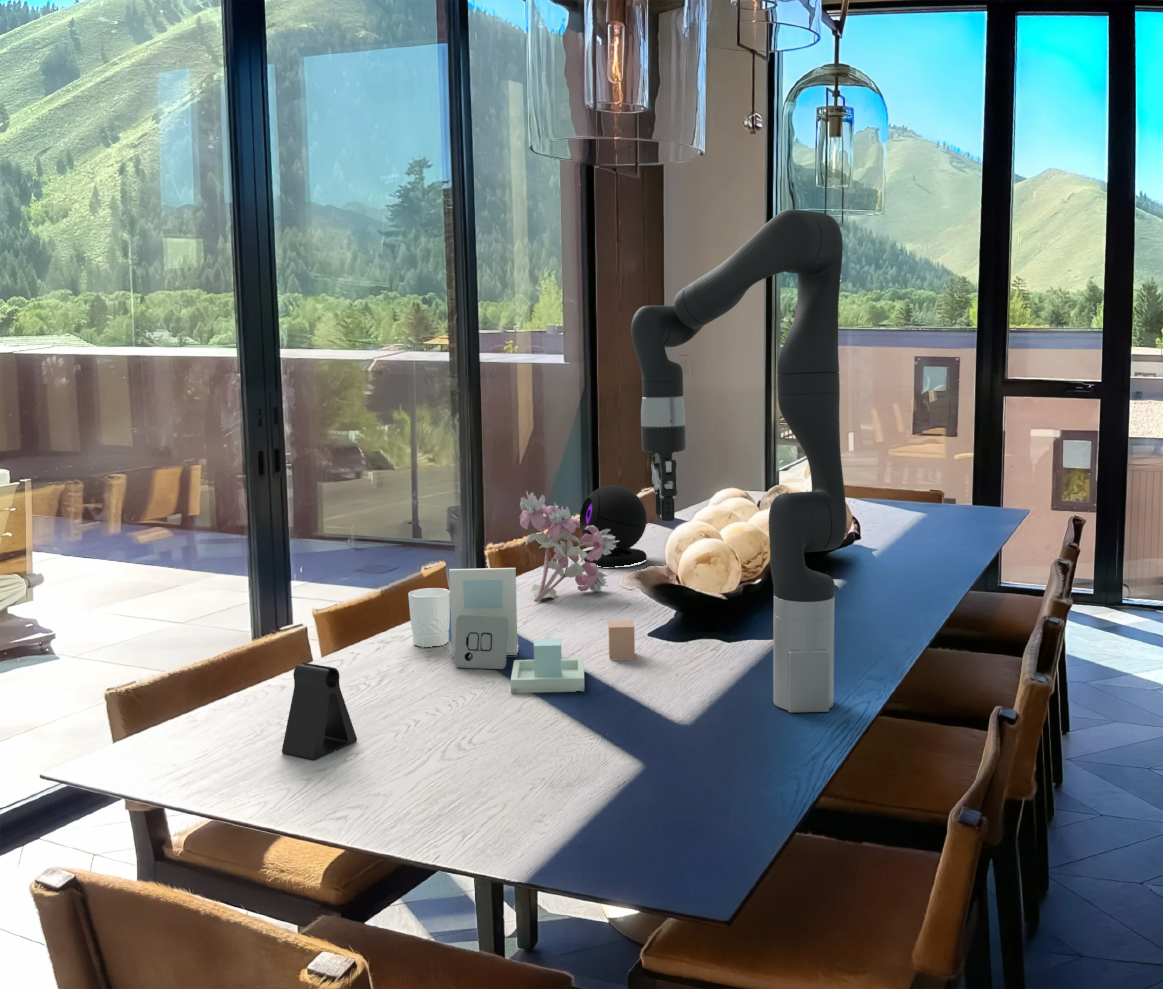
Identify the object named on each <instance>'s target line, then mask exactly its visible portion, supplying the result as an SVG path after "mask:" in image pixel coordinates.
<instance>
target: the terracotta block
mask: <svg viewBox="0 0 1163 989" xmlns="http://www.w3.org/2000/svg"><path fill="white" fill-rule="evenodd" d="M607 624H608V656H609V657H608V659H609V660H610V659H631V660H635V659H636V656H635V654H636V653H635V650H636V649H635V646H636V645H635V641H636V640H635V624H634V621H633V620H623V621H622V620H620V621H619V620H618V621H617V620H615V621H614V620H613V621H611V620H609V621H608V623H607Z"/></svg>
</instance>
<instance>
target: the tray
mask: <svg viewBox="0 0 1163 989" xmlns="http://www.w3.org/2000/svg"><path fill="white" fill-rule="evenodd" d="M561 662H562V677H542V678H534V659H514V660H513V664H512V670H511V675H510V693H511V694H523V693H524V694H525V693H527V694H529V693H534V694H535V693H569V692H570V693H574V692H576V691H581V692H585V664H584V663H585V662H584V658H583V657H582V658H561Z"/></svg>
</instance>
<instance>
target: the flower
mask: <svg viewBox="0 0 1163 989" xmlns="http://www.w3.org/2000/svg"><path fill="white" fill-rule="evenodd" d="M525 492H526V495H527V499H526V496H523V497H520V502H519V507H520V509H521V511H522V512H521V513H520V515H519V517H518V518H519V520H520V521H519V525H520V526H521V528H523V529H525V530H527V531H528V529H529V526H530V522H531V525H532V526H533V527H534V529H536V530H537V531H539V532H540V533H537V532H534V533H531V534H529V535H528V536H527V538H526V539H525V546H527V545H528V543H532V542H534V541H536V542H537V543H538V544H540V546H539V548H538V550H539V549H541V548H544V549H545V552H544V553H545V556H544V561H543V562H544V563H543V565H542V566H541V568H543V573H542V579H541V583H540V584H537V583H535V584H532V586H531V592H532V594H533V596H535V599H534V600H533V601H534V603H535V602H537V603H539V602H541V600H542V599H547V598H548V599H552V600H553V599H556V596H557V590H556V589H554V588H556V587H557V586H558V585H559V584H560V583H561V581H563V580H565V578H574V577H575V578H574V581H575V582H576V584H577V590H578V591H579V592H585V591H588V590H591V591H594V592H595V593H600V592H602V591H603V588H602V587H604V586H605V587H609V584H607V583H608V582H607V578H604V577H608V575H607V574H605V573H603V572H602V571H599V568H598V567H597V565H596V564H595V563H588V562H585V563H584V558H586V559H588V560H589V561H593V560H598V559H599V558H600V557H601V555H602V554H604V555H608V554H611V552H610V551H609V549H610V550H613V549H614V548H617V547H616V545H613V544H615V543H616V542H619V541H615V540H614V538H615V536H613V535H610V534H608V535H606V534H607V533H608V532H609V531H610V529H605V530H602V531H601V532H599V530H598V528H596V527H595V526H593V525H592V526H587V527H586V528H585V529H586V530H589V531H590V532H591V533H592V534H593V535H590V534H586V533H585V534H584V535H583V534H582V535H581V537H580V538H579V537H577V536H575V535H573V534H574V533H575V532H576V529H579V528H580V520H578V519H577V518H576V519H575V518H572V515H571V511H570V508H569V507H568V506H566V508H564V506H563V505H562V506H561V508H559V507H560V506H559V505H557V504H556V502H554V503H553V504H554V505H548V506H547V505H546V504H545V502H546V496H545V495H543V494H541V496H540V498H539V499H538V498H537V496H536V495H535V493H534V492H533V491H532V492H531V493H529V491H528V490H525ZM545 530H547V532H546V533H544V531H545ZM609 539H611V540H609ZM615 539H616V538H615ZM563 540H564V541H563ZM559 542H560V543H559ZM573 542H577V543H578V545H577V546H574V544H573ZM582 546H583V547H586V548H592V550H591V549H590V550H591V552H589V553H588V554H587V553H586V552H585V551H586V550H582V549H581V547H582ZM550 548H553V552H554V555H553V557H551V560H550ZM569 559H570V560H571V561H572V562H573V564H570V565H569ZM579 560H580V563H582V562H583V564H582V565H581V564H579V562H578V561H579ZM549 569H550V570H551V569H552V570H554V573H553V574H552V575H551V576H550V579H549V580H548V581H547V577H548V576H547V575H548V571H549ZM564 569H565V570H564ZM584 573H585V574H584ZM558 575H559V576H560V578H559V579H558V580H557V581H556V582H555V583H554V581H555V580H556V578H557V577H558ZM546 581H547V582H546ZM553 583H554V584H553Z"/></svg>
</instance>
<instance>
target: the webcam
mask: <svg viewBox="0 0 1163 989" xmlns="http://www.w3.org/2000/svg"><path fill="white" fill-rule="evenodd" d="M579 522H580V527H579V528H580V531H581V534H582V536H583V535H584V534H585V533H586V534H590V535H593V534H592V533H591V532H590V531H589V530H586V529H585V528H586V527H587V526H592V525H593V526H595V527H596V528H598V530H599V532H601V531H602V530H605V529H610V531H609V532H608V533H607V534H606V535H608V534H610V535H613V536H615V538H616V539H615V538H614V540H615V541H619V542H616V543H615V544H613V545H616V547H617V548H614V549H613V550H610V549H609V551H610V552H611V554H608V555H604V554H602V555H601V557H600V558H599V559H598V560H593V561H589V560H588V559H586V558H584V560H583V562H584V561H585V562H588V563H595V564H596V565H598V566H601V567H615V566H624V565H631V564H634V563H638V562H642V561H644V560H646V559H647V557H648V556H647V554H646V552H645V550H641V549H638V548H632V547H634V546H635V545H636V544H637V543H638V542H639V541H640V540H641V538H642V537H643V535H644V533H645V530H646V527H647V522H648V521H647V511H646V508H645V506H644V503H643V501H642V500H641V499H640V497H639V496H638V495H637V494H636V493H634V492H633V491H632V490H630V489H628V488H626V487H624V486H620V485H612V484H611V485H606V486H605V485H604V486H601V487H599V488H597V489H595V490H594V491H592V492H591V493H590V494H588V496H586V498H585V500H584V501H583V503H582V506H581V510H580V513H579ZM609 540H611V539H609ZM592 549H593V548H592ZM592 549H588V550H584V551H585V552H586V553H587V554H588V553H589V552H591V550H592ZM647 560H648V559H647Z"/></svg>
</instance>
